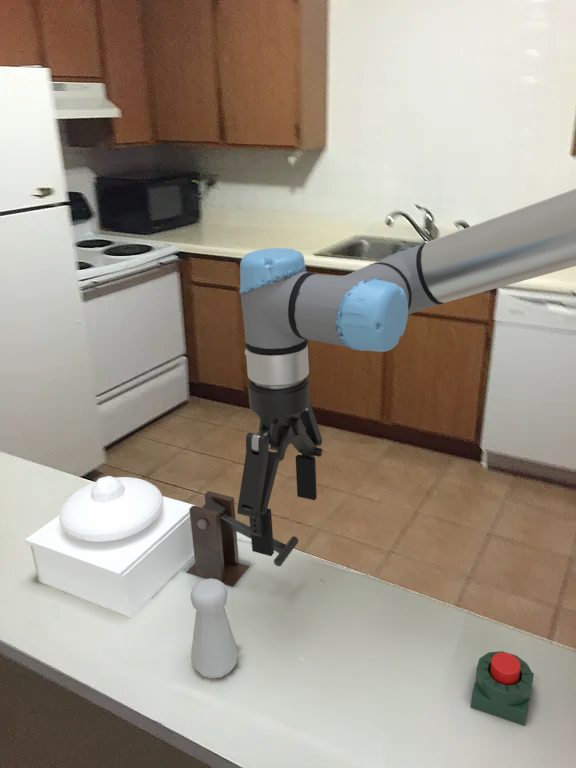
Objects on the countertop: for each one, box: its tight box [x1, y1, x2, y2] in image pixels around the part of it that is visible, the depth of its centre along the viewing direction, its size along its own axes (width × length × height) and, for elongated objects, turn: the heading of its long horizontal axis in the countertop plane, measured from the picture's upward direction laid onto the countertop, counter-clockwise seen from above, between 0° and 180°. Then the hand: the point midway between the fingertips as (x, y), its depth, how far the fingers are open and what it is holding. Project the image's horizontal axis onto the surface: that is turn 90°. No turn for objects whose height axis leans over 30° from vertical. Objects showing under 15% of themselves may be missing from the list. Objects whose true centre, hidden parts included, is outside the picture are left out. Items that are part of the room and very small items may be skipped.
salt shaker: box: [190, 578, 239, 679], centre depth 81 cm, size 6×6×13 cm
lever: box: [201, 500, 299, 567], centre depth 94 cm, size 14×6×2 cm, turn 65°
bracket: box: [186, 490, 250, 588], centre depth 97 cm, size 8×6×13 cm
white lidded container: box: [24, 475, 197, 618], centre depth 99 cm, size 18×18×16 cm
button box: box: [470, 650, 535, 727], centre depth 78 cm, size 6×6×4 cm
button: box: [490, 651, 521, 685], centre depth 77 cm, size 3×3×2 cm
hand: (286, 523), depth 90 cm, fingers open, 13 cm apart
